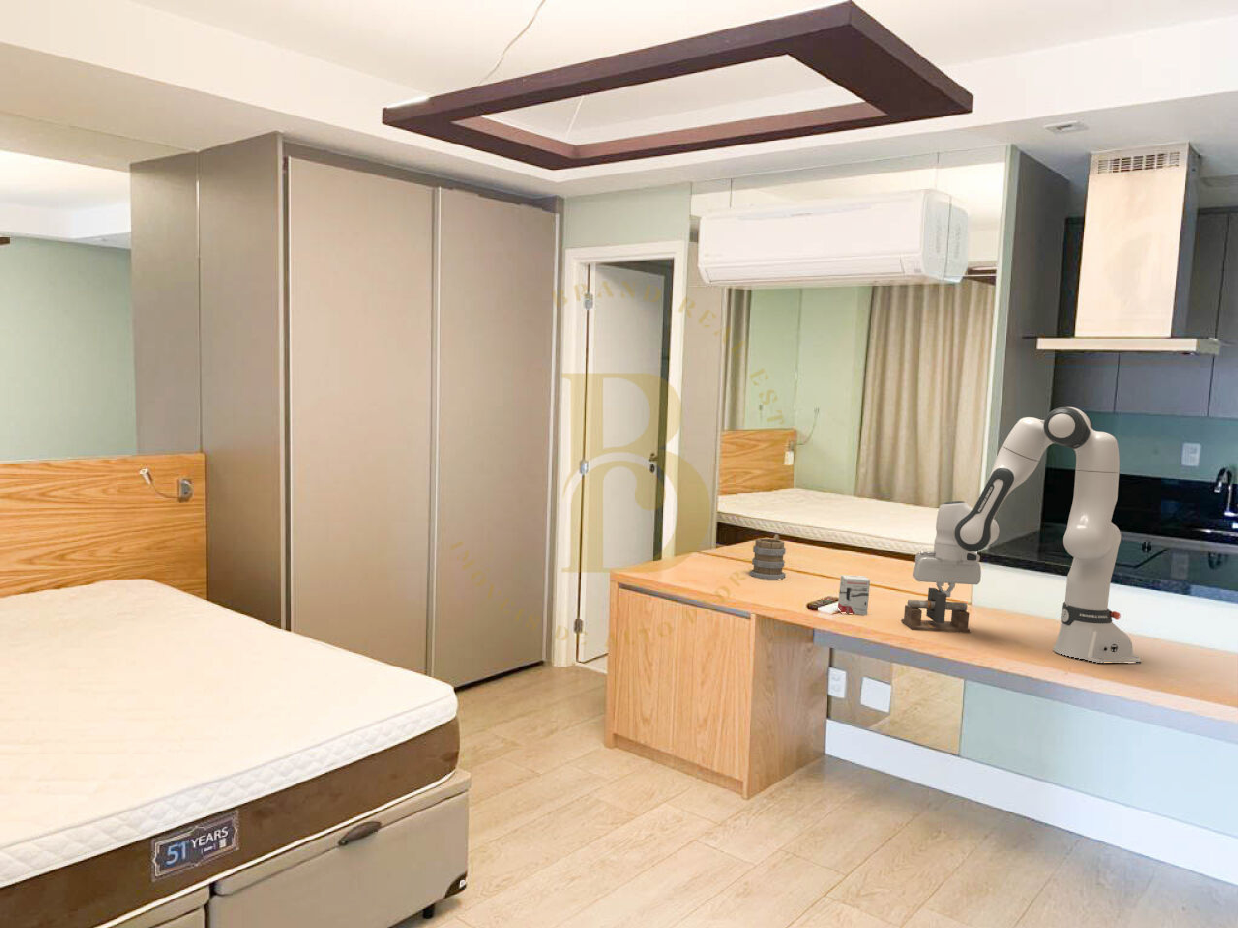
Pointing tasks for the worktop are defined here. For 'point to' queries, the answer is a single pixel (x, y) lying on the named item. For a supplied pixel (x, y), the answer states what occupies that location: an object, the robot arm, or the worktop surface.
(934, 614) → the dark grey flat slab
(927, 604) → the pipe stand
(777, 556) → the tankard
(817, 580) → the worktop surface
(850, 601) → the ink box
